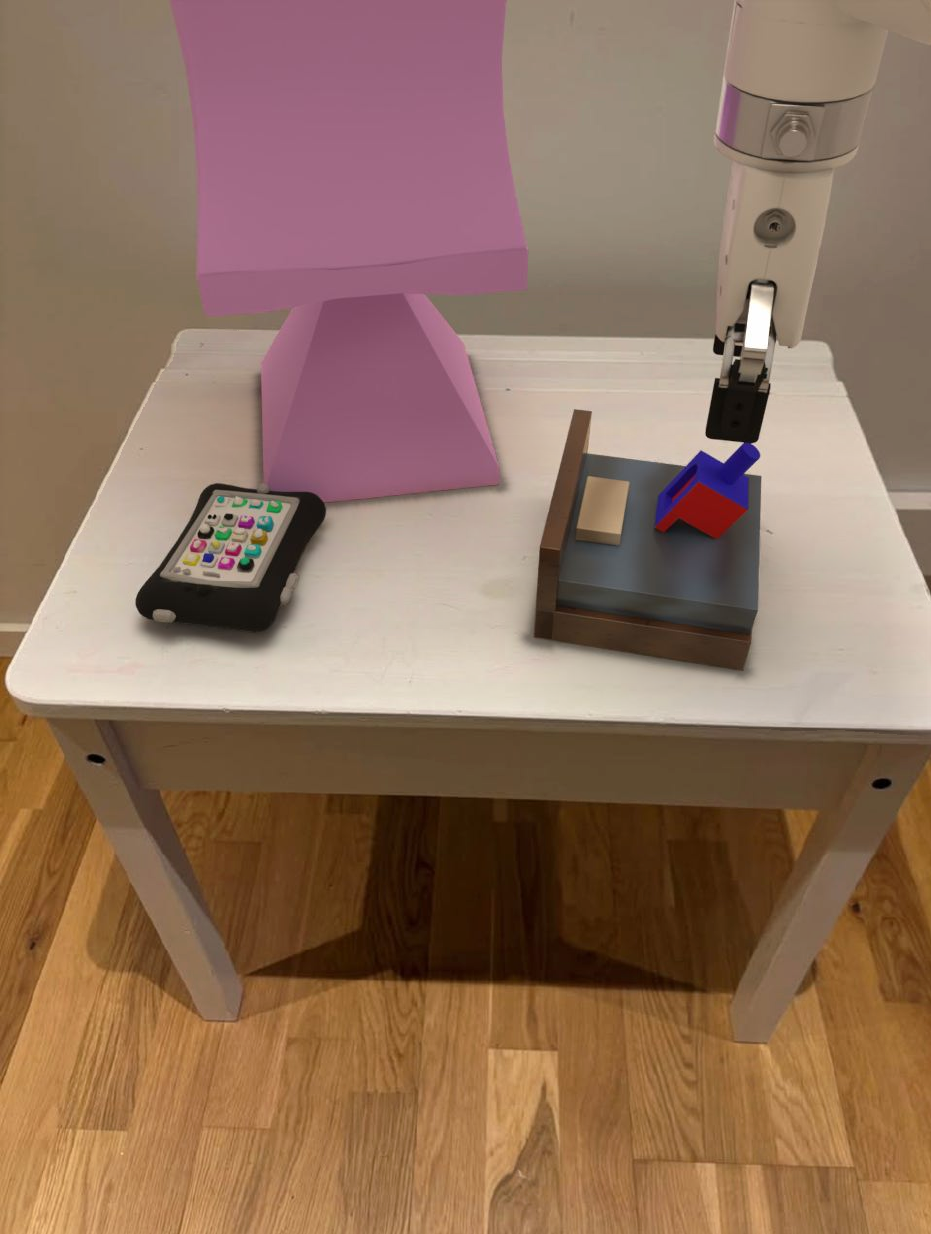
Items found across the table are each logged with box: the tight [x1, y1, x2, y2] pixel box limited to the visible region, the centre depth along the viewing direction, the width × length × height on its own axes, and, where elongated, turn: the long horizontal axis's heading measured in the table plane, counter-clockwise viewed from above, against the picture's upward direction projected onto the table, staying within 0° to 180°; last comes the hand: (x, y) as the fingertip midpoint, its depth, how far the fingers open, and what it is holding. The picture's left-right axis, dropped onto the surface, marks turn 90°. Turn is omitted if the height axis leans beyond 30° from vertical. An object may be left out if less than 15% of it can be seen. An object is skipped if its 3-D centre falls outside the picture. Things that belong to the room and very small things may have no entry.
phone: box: [134, 482, 327, 634], centre depth 75 cm, size 11×15×4 cm
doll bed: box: [533, 408, 762, 671], centre depth 73 cm, size 15×16×9 cm
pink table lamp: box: [168, 0, 529, 504], centre depth 73 cm, size 22×22×45 cm
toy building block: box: [655, 442, 761, 539], centre depth 70 cm, size 4×4×8 cm
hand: (733, 394), depth 64 cm, fingers open, 9 cm apart
